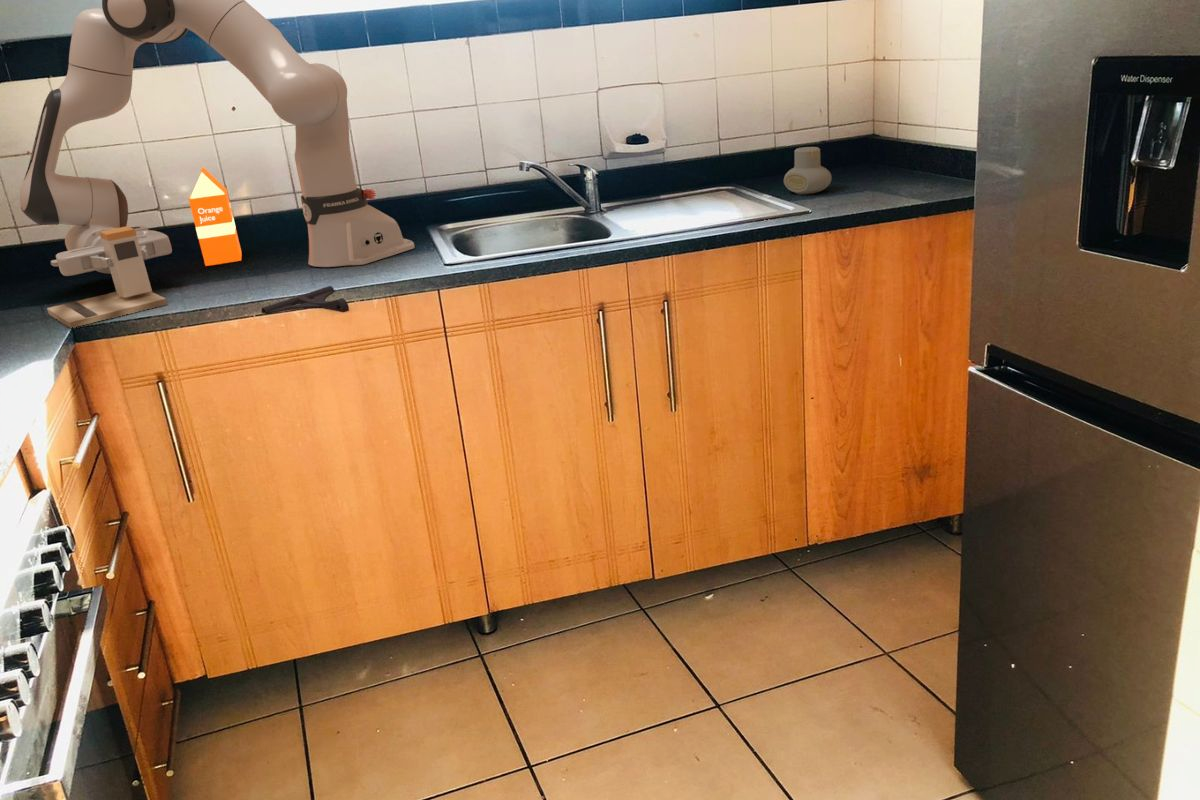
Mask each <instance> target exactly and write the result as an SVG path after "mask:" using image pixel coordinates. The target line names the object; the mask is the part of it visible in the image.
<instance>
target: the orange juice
mask: <svg viewBox="0 0 1200 800" xmlns="http://www.w3.org/2000/svg"><path fill="white" fill-rule="evenodd" d="M191 192H192V193H190V196H189V198H188V202H189V206H190V210H191V214H192V218H193V222H194V226H195V231H196V236H197V239H198V243H199V246H200V250H201V254H202V257H203V260H204V261H203V263H204V265H205V267H207V266H209V267H210V266H215V265H223V264H228V263H234V262H239V261H240V262H241V261H242V256H243V255H242V248H241V244H240V241H239V237H238V236H239V235H238V231H237V228H236V227H237V226H236V223H235V218H234V215H233V210H232V205H231V202H230V198H229V193H228V189H227V188H226V187H225V186H224V185H223V184H222V183H221V182H220V181H219V180H218V179H217V178H216V177H215V176H213V174H211V173H210V171H208V169H206V168H205V167H204V166H202V167H201V170H200V174H199V177H198V180H196V183H195V186H194V187H193V190H192V191H191Z"/></svg>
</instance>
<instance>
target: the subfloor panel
mask: <svg viewBox="0 0 1200 800" xmlns="http://www.w3.org/2000/svg"><path fill="white" fill-rule="evenodd" d="M164 305H165V306H168V299H167V298H165V297H164V296H162V295H160V294H157V293H155V292H153V291H150V292H146V293H142V294H138V295H134V296H130V297H123V296H121V295H119V294H117V292H116V291H113V292H109V293H106V294H101V295H97V296H93V297H88V298H84V299H80V300H75V301H72V302H67V303H62V304H59V305H54V306H50V307H46V310H47V313H48V315H49V316H50V317H52V318H53V319H55V320H56V319H57V321H58V322H59V321H60V323H61V322H62V323H64V324H65V325H67V326H69V327H73V329H77V328H78V327H77V326H81V327H83V326H82V325H85V324H89V323H93V322H97V321H101V320H105V319H109V318H112V317H117V318H119V317H118V316H121V317H123V316H122V315H125V316H127V315H126V314H129V315H131V314H130V313H133V314H135V313H134V312H137V313H139V312H138V311H141V312H143V310H145V311H148V310H147V309H149V310H152V308H153V309H156V308H155V307H157V308H160V307H159V306H161V307H164ZM109 320H110V319H109ZM105 321H106V320H105ZM101 322H102V321H101ZM62 323H61V324H62ZM97 323H98V322H97ZM64 324H63V325H64ZM93 324H94V323H93ZM65 325H64V326H65ZM89 325H90V324H89ZM67 326H66V327H67ZM85 326H86V325H85ZM76 327H77V328H76Z"/></svg>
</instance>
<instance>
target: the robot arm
mask: <svg viewBox="0 0 1200 800" xmlns="http://www.w3.org/2000/svg"><path fill="white" fill-rule="evenodd" d="M101 6H102V8H99V7H95V8H94V7H93V8H87V9H84V10H82V11H80V12H79V13H78V15H77V16H76V18H75V22H74V26H73V30H72V33H71V39H70V45H69V55H68V66H67V68H68V69H67V74H66V75H65V78H64V80H63V82H62V83H61V84H60V86H59V87H58V88H56V89H53V90H50V91H49V93H48V95H47V96H46V98H45V100H44V103H43V107H42V110H41V113H40V114H41V115H40V117H39V121H38V125H37V129H36V133H35V137H34V141H33V142H34V143H33V145H32V150H31V155H30V159H29V163H28V167H27V170H26V172H25V175H24V178H23V182H22V185H21V188H20V190H19V191H20V192H19V204H20V209H21V212H22V213H23V214H24V215H25V216H27V218H29V219H30V220H31V221H32V222H34V223H35V224H36V225H38V226H55V225H56V226H58V225H68V226H69V225H70V226H71V227H69V228H68V230H67V232H66V233H65V237H64V245H65V247H66V251H65V250H64V251H61V252H58V253H57V254H55V258H56V259H52V260H50V265H51V266H53V267H58V268H59V272H60V274H62V275H63V276H64V277H69V276H76V275H81V274H84V273H90V272H94V271H96V272H98V273H101V274H111V271H110V268H109V267H113V263H112V259H111V257H109V256H108V257H106V254H105V251H104V247H103V244H102V241H101V237H100V234H99V232H100V231H105V230H111V229H116V228H121V227H126V226H128V225H127V224H128V217H129V207H128V200H127V197H126V194H125V193H124V192H123V190H122V189H121V187H120V186H119V185H118V184H117V183H116V182H115V181H114V180H112V179H108V178H98V177H87V176H85V177H83V176H75V175H74V176H73V175H63V174H62V175H61V174H57V173H56V168H57V164H58V160H59V157H60V152H61V147H62V143H63V140H64V137H65V134H66V133H67V131H69V130H70V129H71V128H72V127H74V126H75V127H76V125H80V124H82V123H86V122H90V121H95V120H99V119H103V118H107V117H109V116H113V115H115V114H116V113H119V112H120V111H121V110H122V109H124V108H125V107H126V105H128V103H129V101H130V98H131V93H132V87H133V72H134V58H135V53H136V51H137V50H138V48H139V47H140V46H141V45H146V46H148V45H149V46H150V45H156V44H157V45H159V44H169V43H171V44H172V43H174V42H176V41H178V40H180V39H182V38H183V37H184V36H186V34H187V33H189V32H188V31H191V32H193V33H194V34H195V35H197V36H198V37H199V38H200V39H202V40H203V41H204V42H205V43H207V45H208V46H210V47H211V48H212V49H214V50H215V51H216V52H217V53H218V54H219V55H220V56H222V57H223V58H224V59H225V60H226V61H228V62H229V63H230V64H231V65H232V66H233V67H235V68H236V69H237V70H238V71H239V72H240V73H241V74H242V75H244V76H245V78H246V79H247V80H249V82H250V83H251V84H252V85H253V87H254V88H255V89H256V90H257V91H258V92H259V94H260V95H261V96H262V97H263V98H264V99H265V100H266V101H267V102H268V103H269V104H270V106H271V108H272V109H273V111H274V113H275V114H276V115H277V116H278V117H279V118H280V119H281V120H282V121H284V122H285V123H289V124H291V125H294V126H295V128H294V130H295V151H294V160H295V161H294V162H295V167H296V171H297V176H298V181H299V185H300V190H301V196H300V200H301V207H302V208H301V209H302V212H303V213H302V214H303V217H304V220H305V223H306V225H307V233H308V262H307V263H308V265H309V266H312V267H319V268H331V267H332V268H333V267H334V268H335V267H343V266H344V267H345V266H361V265H367V264H369V263H373V262H376V261H379V260H381V259H386V258H388V257H392V256H394V255H395V256H396V255H397V254H401V253H404V252H407V251H410V250H413V249H415V242H413V240H410V239H407V238H404V237H403V235H402V234H403V233H402V231H401V229H400V226H399V224H398V222H397V221H396V219H394V218H393V217H391V216H389V215H388V214H386V213H384V212H382V211H381V210H379V209H377V208H375V207H374V206H371V205H370V204H368V200H373V199H375V198H376V194H377V193H376V191H375V190H374V189H369V188H366V189H365V190H364V189H362V188H359V187H357V181H356V175H355V170H354V166H353V164H354V163H353V160H352V153H351V146H350V124H349V123H350V122H349V109H348V87H347V84H346V81H345V79H344V78H343V77H342V75H341V74H340V73H339V72H338V71H337V70H335V69H334V68H333V67H331V66H329V65H326V64H323V63H319V62H318V63H317V62H315V63H309V62H307V61H306V59H304V58H303V57H301V55H300V54H299V53H298V52H297V51H296V50H295V49H294V48H293V46H292V45H291V44H290V43H289V42H288V41H287V40H286V38H285V37H284V36H283V33H282V32H281V30H279V28H278V27H276V26H275V25H274V24H273V23H271V22H270V21H269V20H268V19H267V18H266V17H265V16H263V15H262V14H261V13H260V12H259V11H258V10H257V9H255V8H254V7H253V6H252V5H251V4H250V3H248V2H247V1H246V0H102V1H101ZM129 227H130V226H129ZM130 228H133V229H135V231H136V235H137V239H138V242H139V246H140V249H141V253H142V257H143V260H144V261H147V260H150V259H153V258H158V257H163V256H167V255H170V254H172V251H173V249H172V244H171V241H170V238H169V236H168V235H167V234H165V233H164V232H161V231H157V230H151V229H148V226H145V225H143V226H142V225H141V226H131V227H130Z"/></svg>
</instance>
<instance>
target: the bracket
mask: <svg viewBox="0 0 1200 800" xmlns="http://www.w3.org/2000/svg"><path fill="white" fill-rule="evenodd" d="M334 293H335V289H334V287H333V286H332V285H327V286H324V287H322V288H319V289H316V290H313V291H310V292H309V291H308V292H307V293H304V294H301V295H298V296H295V297H291V298H288V299H285V300H282V301H279V302H276V303H272V304H269V305H267V306H263V307H261V309H260V311H261V313H262V314H264V313H266V314H267V315H268V314H275V313H279V312H280V313H281V312H285V311H292V310H298V309H313V308H314V309H316V308H317V309H324V310H329V311H333V312H334V311H335V312H340V313H344V312H345V313H346V312H348V311H349V310H350V307H349V304H348V302H347V300H346V299H344V298H342V297H340V298H338V299H334V300H329V301H327V300H326V299H327V298H328V297H329V296H331V295H332V294H334ZM325 300H326V301H325Z"/></svg>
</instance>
